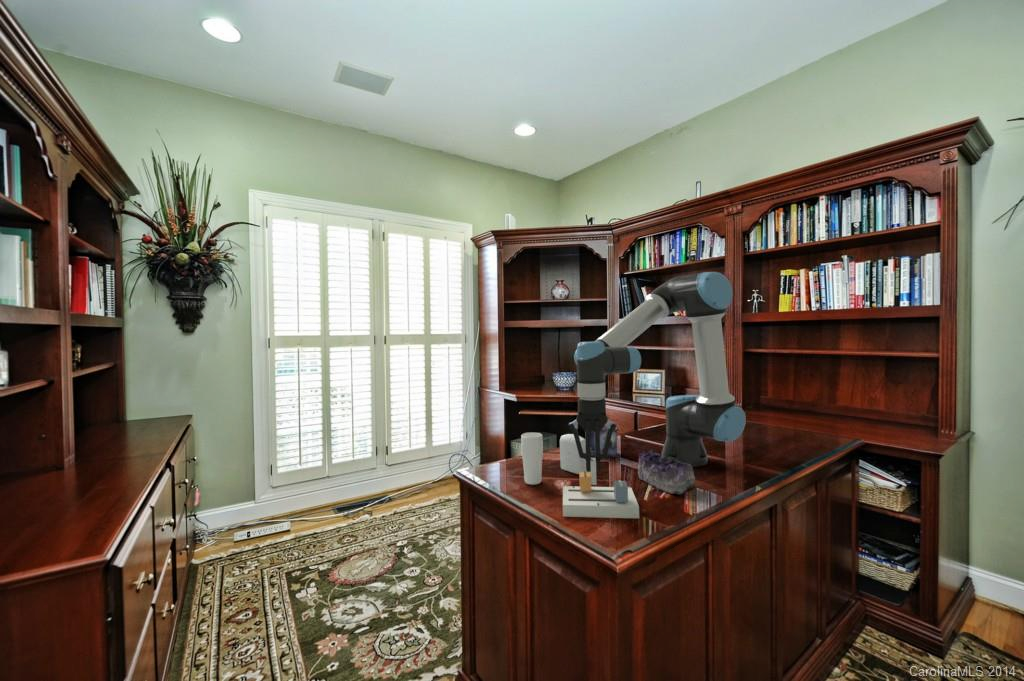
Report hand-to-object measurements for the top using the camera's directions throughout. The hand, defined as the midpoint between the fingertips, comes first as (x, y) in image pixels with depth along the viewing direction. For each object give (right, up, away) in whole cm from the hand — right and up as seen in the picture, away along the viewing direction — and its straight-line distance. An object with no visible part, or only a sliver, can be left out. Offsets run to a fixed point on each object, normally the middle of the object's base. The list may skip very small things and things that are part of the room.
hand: (593, 482), depth 118 cm
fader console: (+1, -5, -3) cm, 6 cm away
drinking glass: (-16, -6, +17) cm, 24 cm away
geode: (+23, -5, +12) cm, 27 cm away
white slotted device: (-2, -5, +26) cm, 26 cm away
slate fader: (+6, -2, -7) cm, 9 cm away
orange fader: (-2, -2, 0) cm, 3 cm away
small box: (+12, -4, +43) cm, 45 cm away
